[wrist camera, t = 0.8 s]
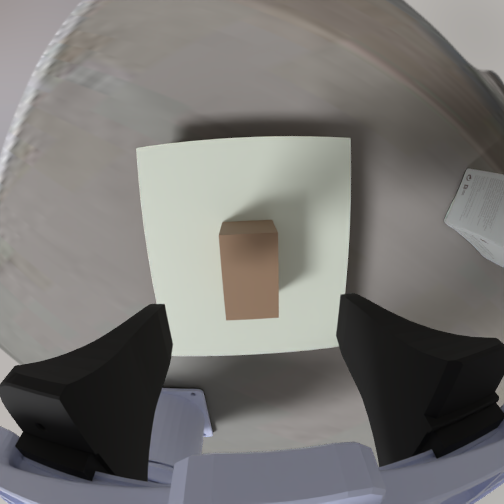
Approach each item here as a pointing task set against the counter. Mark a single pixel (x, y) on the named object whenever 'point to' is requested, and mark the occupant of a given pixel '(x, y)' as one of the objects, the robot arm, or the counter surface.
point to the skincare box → (480, 213)
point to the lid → (248, 241)
